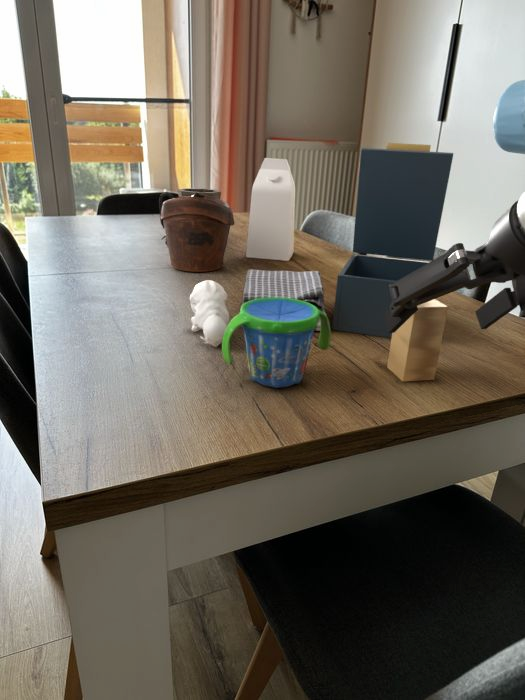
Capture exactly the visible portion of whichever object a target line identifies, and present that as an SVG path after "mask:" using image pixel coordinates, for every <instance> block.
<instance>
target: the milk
mask: <svg viewBox="0 0 525 700" xmlns="http://www.w3.org/2000/svg"><path fill="white" fill-rule="evenodd" d="M295 213H296V185H295V180H294V178H293V173H292V171H291V167H290V165H289V161H288V159H286V158H273V157H272V158H271V157H264V158H263V161H262V163H261V165H260V168H259V170H258V172H257V175H256V177H255V179H254V181H253V184H252V188H251V196H250V207H249V216H248V217H249V218H248V230H247V241H246V252H245V257H246V258H253V259H263V260H275V261H284V262H285V261H286V262H287V261H290V259H291V258H292V256H293V255H294V253H295V251H294V249H295V248H294V247H295V216H296V215H295Z"/></svg>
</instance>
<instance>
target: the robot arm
mask: <svg viewBox="0 0 525 700" xmlns="http://www.w3.org/2000/svg"><path fill="white" fill-rule="evenodd" d="M492 127H493V136H494V140H495V142H496V144H497V145H498V147H499V148H500V149H501V150H503V151H505V152H507V153H512V154H520V155H525V79H521V80H518V81H515V82H513V83H511V84H510V85H509V86H508V87H506V89H505V90H504V91H503V92H502V94H501V95H500V97H499V99H498V101H497V103H496V105H495V109H494V114H493V117H492ZM489 234H490V235H489V237H488V239H487V242H485V243H483V244H482V245H480V246H478V247H476V248H475V249H474V250H466V249H465V246H464V243H462V242H458V243H455V244H452V246H451V247H449V248H448V249H447V250H446V251H445V252H444V253H443V254H441V255H439V256H437V257H436V258H433V261H431V260H430V261H428V262H429V263H427V264H426V265H424V266H422V267H420V268H419V269H417V270H415V271H413V272H412V273H410V274H408V275H406V276H405V277H403V278H401V279H400V280H398V281H396V282H394V283H393V284H391V285H390V286H389V289H390V293H391V297H392V301H393V302H392V303H391V304H390V308H389V309H388V310H387V312H386V313H385V314H384V315H385V320H386V324H387V328H388V332H389V333H394V332H395V331H396V330H397V329H398V328H400V327H401V326H402V325H403V324H404V323H405V322H406V321H407V320H408V319H409V318H410V317H411V316H412V315H413V314H414V313H415V312H416V311H417V310H418V307H417V306H418V305H421V304H423V303H426V302H428V301H431V300H433V299H435V300H437V298H438V299H439V298H441V297H443V296H447V295H449V294H451V293H453V292H456V291H460V290H461V289H464V288H465V289H467V290H474V289H475V288H478V287H481V286H482V285H486V284H491V283H498V284H504V283H506V282H511V287H512V288H511V287H504V288H503V289H501V290H500V291H499V292H498V293H497V294H496V295H494V296H492V298H490V299H489V300H488V301H486V302H485V303H484V304H483V305H481V306H480V307H479V308H477V309H476V310H475V311H474V312H475V315H476V318H477V321H478V326H479V328H480V330H487V329H488V328H489V327H491V326H492V325H494V324H495V323H497V322H498V321H499V320H501V319H502V318H504V317H505V316H506V315H508V314H509V313H510V312H512V311H513V310H515V309H516V308H517V307H519V310H520V311H521V312H525V191H524V192H523V193H522V194H521V195H520V197H519V199H518V200H515V202H514V203H513V204H512V205H511V206H510V207H509V208H508V209H507V210H505V212H504V213H503V214H502V215H501V216H500V217H499V218H497V220H496V221H495V222H494V224H493V225H492V228H491V231H490V233H489ZM470 265H472V271H473V273H474V276H475V278H473V279H472V277H471V274H470V271H469V269H468V268H469V267H470ZM512 289H513V290H512Z"/></svg>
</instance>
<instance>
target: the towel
mask: <svg viewBox="0 0 525 700" xmlns="http://www.w3.org/2000/svg"><path fill="white" fill-rule="evenodd" d="M244 282H245V283H244V290H243V292H242V293H243V295H242V298H243V299H242V301H241V306H242V305H243V304H244V303H246V302H248V301H251V300H255V299H260V298H273V297H274V298H275V297H276V298H290V299H296V300H301V301H304V302H308V303H310V304H312V305H314V306H315V307H317V308H318V310H320V311H321V312H323V313H324V314H325V315H326V316H327V317H328V314H327V313H326V309H325V296H324V295H325V294H326V293H325V290H324V286H323V281H322V276H321V272H320V271H318V270H317V271H316V270H311V271H309V270H306V271H291V270H284V269H283V270H266V269H264V270H263V269H254V268H253V269H247V272H246V276H245V281H244ZM320 325H321V317H320V316H319V322H318V324H317V326H316V327H315V329H314V332H320Z"/></svg>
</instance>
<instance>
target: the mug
mask: <svg viewBox="0 0 525 700" xmlns="http://www.w3.org/2000/svg"><path fill="white" fill-rule="evenodd" d="M177 193H178V194H177V195H178V197H184V196H192V195H194V194H196V193H199V194H201V195H207V196H211V197H215V198H218V199H220V200H221V195H222V191H221V190H218V189H211V188H198V187H197V188H194V187H193V188H192V187H190V188H178V189H177ZM166 196H167V197H169V198H170V199H173V198H176V197H175V196H174V195H173V194H172V193H170V192H168V191H165V192H163V193H161V194H159V198H158V208H159V217H160V216H161V208H162V205H163V199H164V197H166ZM163 220H164V219H162V220H160V224H161V227H162V229H164V230H165V228H164V224H163Z"/></svg>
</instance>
